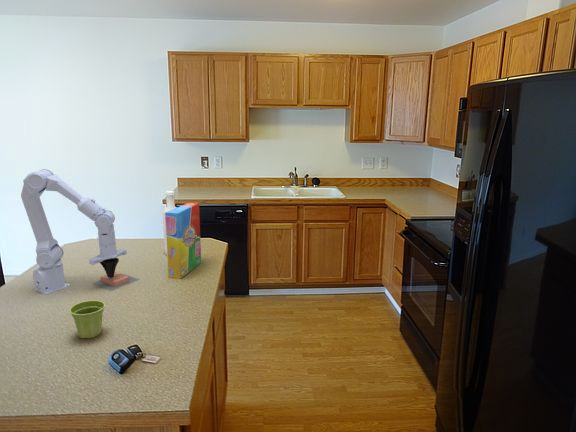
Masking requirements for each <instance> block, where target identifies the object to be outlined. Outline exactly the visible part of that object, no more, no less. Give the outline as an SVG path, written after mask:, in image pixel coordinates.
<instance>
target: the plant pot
mask: <svg viewBox="0 0 576 432" xmlns="http://www.w3.org/2000/svg"><path fill="white" fill-rule="evenodd" d="M105 308H106V303H105V302H104V301H101V300H97V299H96V300H95V299H92V300H84V301H80V302H78V303H75V304H74V305H72V306H71V307H70V308H69V309H68V311H69V313H70V314H71V316H72V318H73V320H74V324H75V328H76V331H77V334H78V335H77V336H78V337H79V338H81V339H92V338H96V337H97V336H99V335H100V334H101V333H102V330H103V329H102V328H103V326H102V325H103V314H104V313H103V312H104V309H105Z"/></svg>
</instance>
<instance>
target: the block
mask: <svg viewBox="0 0 576 432" xmlns="http://www.w3.org/2000/svg"><path fill="white" fill-rule="evenodd" d="M121 274H122V273H121ZM121 274H120V273H118V272H115V273H114V277H112V278H109V277H107V274H105V275H103V276H100V280H101V282H103V283H106V284H109V285H112V286H115V287H117V286H120V285H122V284H125V283H127V282H129V277H128V276H129V275H128V276H124V275H125V274H124V275H121Z"/></svg>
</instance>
